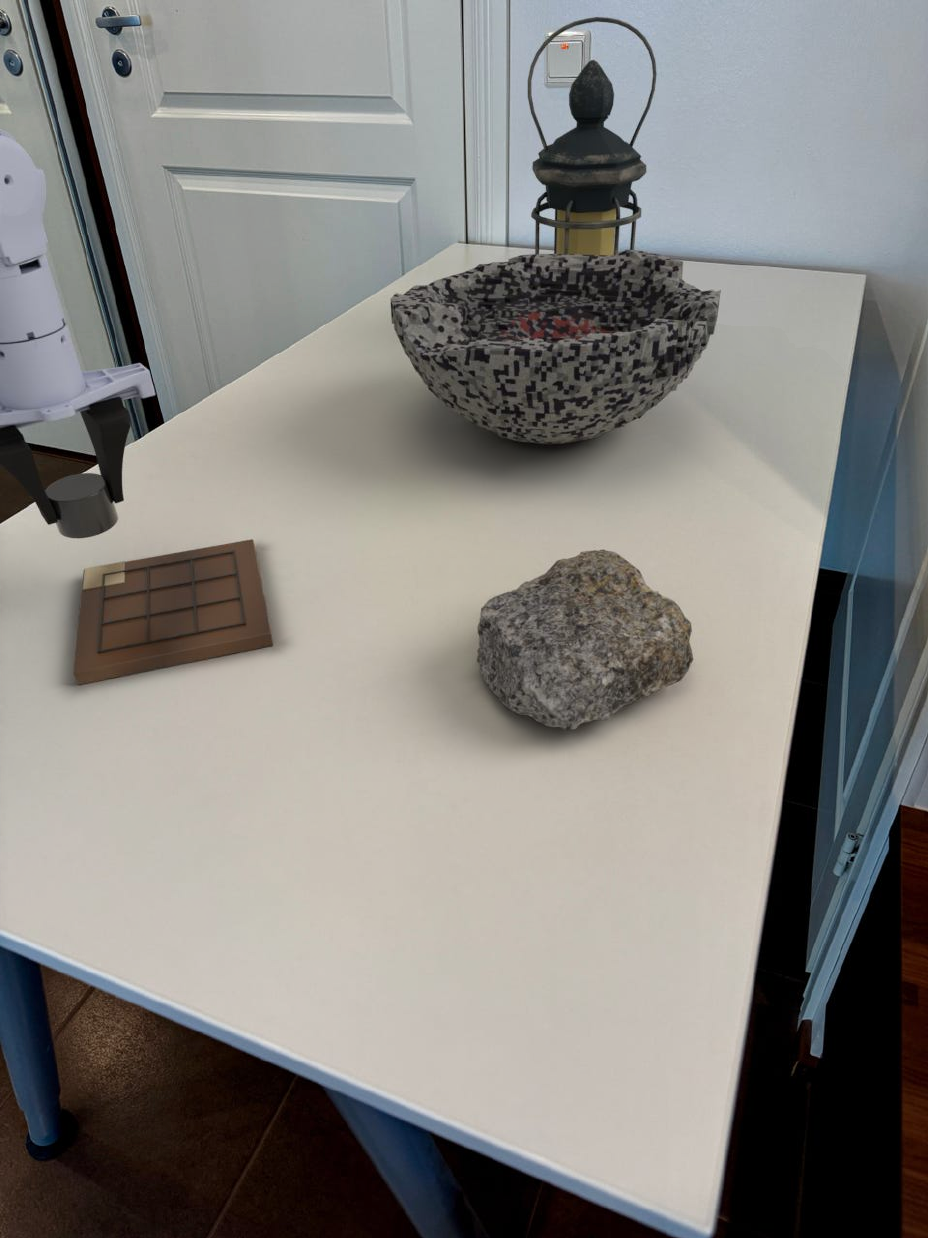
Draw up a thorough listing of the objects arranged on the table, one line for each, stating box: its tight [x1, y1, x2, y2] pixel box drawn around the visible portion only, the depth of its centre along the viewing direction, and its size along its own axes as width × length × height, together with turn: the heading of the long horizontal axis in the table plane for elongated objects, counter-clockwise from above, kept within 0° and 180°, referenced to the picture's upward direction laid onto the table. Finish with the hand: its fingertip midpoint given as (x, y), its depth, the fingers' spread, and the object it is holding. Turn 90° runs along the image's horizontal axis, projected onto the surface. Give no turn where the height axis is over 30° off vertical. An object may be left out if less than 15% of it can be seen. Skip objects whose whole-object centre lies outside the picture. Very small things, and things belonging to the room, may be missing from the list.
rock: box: [476, 549, 694, 730], centre depth 61 cm, size 13×6×15 cm
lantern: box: [527, 16, 658, 255], centre depth 104 cm, size 14×13×35 cm
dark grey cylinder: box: [45, 472, 119, 539], centre depth 66 cm, size 4×4×3 cm
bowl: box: [389, 249, 722, 445], centre depth 90 cm, size 31×31×15 cm
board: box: [72, 538, 274, 686], centre depth 69 cm, size 14×14×1 cm
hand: (82, 507), depth 66 cm, fingers closed on dark grey cylinder, 4 cm apart
